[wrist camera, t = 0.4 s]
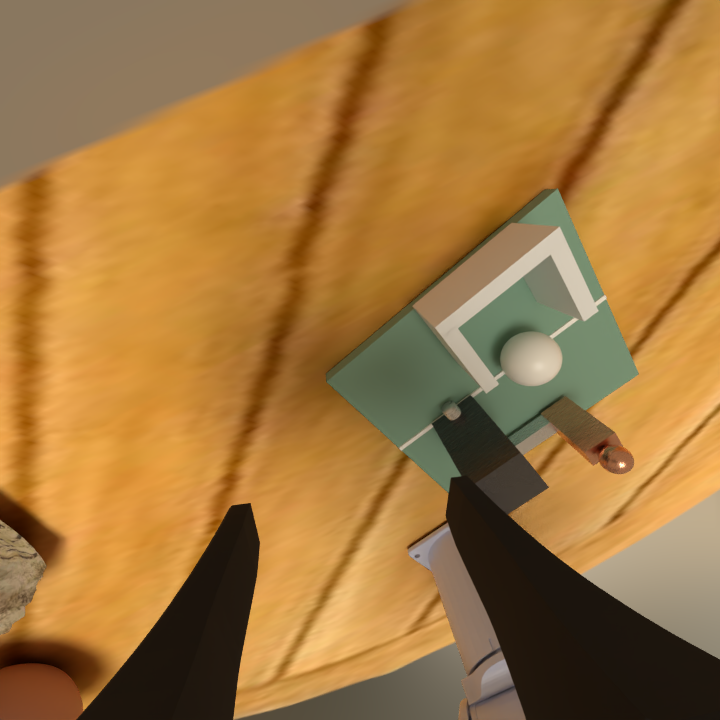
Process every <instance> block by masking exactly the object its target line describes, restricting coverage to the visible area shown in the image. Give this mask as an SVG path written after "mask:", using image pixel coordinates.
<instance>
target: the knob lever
mask: <svg viewBox="0 0 720 720" xmlns="http://www.w3.org/2000/svg"><path fill="white" fill-rule="evenodd" d="M441 411H442V413H443V414H444V415H443V416H441V417H440V418H439V419H437V420H436V421H435V422H433V423H432V425H433V427H434V429H435V430H436V432H437V434H438V436H439V438H440V439H441V441H442V443H443V445H444V446H445V448H446V450H447V452H448V453H449V455H450V457H451V459H452V461H453V462H454V464H455V466H456V468H457V469H458V471H459V473H460V475H461V476H468V477H469V478H470V479H471V480H472V481H473V482H474V483H475V484H476V485H477V486H478V487H479V488H480V489H481V490H482V491H483V492H484V493H485V494H486V495H487V496H488V497H489V498H490V499H491V500H492V501H493V502H494V503H496V504H497V505H498V506H499V507H500V508H501V509H502V510H503V511H504V512H505V513H506V514H509V513H510V512H512V511H513V510H515V509H516V508H518V507H519V506H521V505H523V504H524V503H526V502H527V501H529V500H530V499H532V498H533V497H535V496H537V495H538V494H540V493H541V492H543V491H544V490H546V489H547V488H549V487H548V486H547V484H546V483H545V482H544V481H543V479H542V478H541V477H540V476H539V475H538V473H537V472H536V471H535V470H534V468H533V467H532V466H531V465H530V463H529V462H528V461H527V460H526V459H525V457H524V456H523V455H524V454H525V453H527V452H528V451H530V450H531V449H533V448H534V447H536V446H537V445H539V444H540V443H542V442H543V441H545V440H546V439H548V438H549V437H551V436H552V435H554V434H555V433H556V432H557V433H558V434H559V435H560V436H561V437H562V438H563V439H564V440H566V441H567V442H568V443H569V444H570V445H571V446H572V447H573V448H574V449H575V450H577V451H578V452H579V453H580V454H581V455H582V456H583V457H584V458H585V459H586V460H588V461H589V462H590V463H591V464H592V465H593V466H594V465H595V464H597V463H598V462H600V464H601V466H602V467H603V468H604V469H606V470H607V471H609V472H611V473H615V474H624V473H627V472H629V471H630V470H631V469H632V468H633V466H634V459H633V456H632V454H631V453H630V452H629V451H628V450H627V449H625V448H624V447H623V446H622V444H621V442H620V440H619V438H618V437H617V435H616V433H615V432H614V431H612V430H611V429H610V428H608V427H607V426H606V425H604V424H603V423H601V422H600V421H599V420H597V419H596V418H595V417H593V416H592V415H591V414H589V413H588V412H587V411H585V410H584V409H582V408H581V407H580V406H578V405H577V404H576V403H574V402H573V401H572V400H570V399H569V398H568V397H566V396H565V397H563V398H562V399H561V400H559V401H558V402H556V403H555V404H553V405H552V406H551V407H549V408H548V409H546V410H545V411H543V412H542V413H541V415H540V416H539V417H537V418H536V419H534V420H533V421H532V422H530V423H529V424H527V425H526V426H524V427H523V428H522V429H520V430H519V431H517V432H516V433H514V434H513V435H511V436H510V437H509V438H508V437H507V436H506V435H505V434H504V433H503V432H502V430H501V429H500V428H499V427H498V426H497V425H496V423H495V422H494V421H493V420H492V419H491V418H490V416H489V415H488V414H487V413H486V412H485V411H484V409H483V408H482V407H481V406H480V405H479V404H478V403H477V401H476V400H475V399H474V398H473V397H472V396H471V395H470V396H468V397H467V398H466V399H464V400H463V401H462V402H460V403H459V404H457V405H456V404H455V402H453V401H448V402H446V403H445V404H444V405H443V406H442V409H441Z"/></svg>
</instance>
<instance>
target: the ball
mask: <svg viewBox="0 0 720 720" xmlns="http://www.w3.org/2000/svg"><path fill="white" fill-rule="evenodd" d="M500 363H501V367H502V370H503V371H504V373H505V374H506V376H507V377H508V378H509V379H511V380H512V381H514V382H515V383H517V384H520V385H524V386H539V385H542V384H545V383H547V382H549V381H550V380H552V379H553V378H554V377H555V376H556V375H557V374H558V372H559V370H560V368H561V365H562V352H561V349H560V347H559V346H558V344H557V343H556V342H555V341H554V340H553V339H552V338H551V337H549V336H548V335H545V334H543V333H540V332H534V331H529V332H523V333H519V334H517V335H515V336H513V337H512V338H510V339H509V340H508V341H507V342H506V343H505V345H504V346H503V348H502V351H501V355H500Z"/></svg>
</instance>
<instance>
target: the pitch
mask: <svg viewBox="0 0 720 720" xmlns="http://www.w3.org/2000/svg"><path fill="white" fill-rule="evenodd" d="M511 223H520V224H533V225H546V226H559V227H560V228H561V230H562V233H563V235H564V237H565V239H566V241H567V244H568V246H569V248H570V250H571V252H572V254H573V257H574V259H575V261H576V263H577V265H578V267H579V270H580V272H581V274H582V276H583V278H584V280H585V283H586V285H587V287H588V289H589V291H590V293H591V296H592V298H593V300H594V302H595V304H596V306H597V309H598V312H597V313H595V314H594V315H592V316H591V317H590V318H588V319H587V320H586V321H581V320H579V319H576V318H574V317H572V316H569V315H567V314H564V313H562V312H560V311H557V310H555V309H552V308H550V307H548V306H545V305H543V304H540V303H538V302H537V301H536V299H535V297H534V295H533V294H532V292H531V290H530V288H529V287H528V285H527V283H526V281H525V279H524V278H523V277H522V278H521V279H519V280H518V281H517V282H516V283H514V284H513V285H512V286H511V287H509V288H508V289H507V290H506V291H504V292H503V293H502V294H501V295H499V296H498V297H497V298H495V299H494V300H493V301H492V302H490V303H489V304H488V305H487V306H485V307H484V308H483V309H482V310H480V311H479V312H478V313H477V314H475V315H474V316H473V317H472V318H470V319H469V320H468V321H467V322H465V323H464V324H463V325H462V326H460V327H459V328H458V329H459V331H460V332H461V333H462V335H463V336H464V337H465V339H466V340H467V341H468V343H469V344H470V346H471V347H472V348H473V350H474V351H475V352H476V354H477V355H478V356H479V358H480V359H481V360H482V362H483V363H484V364H485V366H486V367H487V368H488V370H489V371H490V373H491V374H492V375H493V377H494V378H495V379H496V381H497V382H498V383H499V385H497V386H496V387H495V388H493V389H492V390H491V391H489V392H488V393H487V394H486V393H485V392H484V391H483V389H482V388H481V387H480V386H479V385H478V384H477V383H476V382H475V381H474V380H473V379H472V378H471V377H470V376H469V375H468V374H467V373H466V372H465V371H464V370H463V368H462V367H461V366H460V365H459V364H458V363H457V362H456V361H455V359H454V358H453V357H452V356H451V354H450V353H449V352H448V351H447V349H446V348H445V347H444V345H443V344H442V343H441V342H440V340H439V339H438V338H437V337H436V335H435V334H434V333H433V332H432V330H431V329H430V328H429V327H428V325H427V324H426V323H425V322H424V320H423V319H422V318H421V316H420V315H419V314H418V313H417V311H416V310H415V309H414V308H413V305H414V304H415V303H416V302H418V301H419V300H420V299H421V298H422V297H424V296H425V295H426V294H427V293H428V292H429V291H431V290H432V289H433V288H434V287H435V286H437V285H438V284H439V283H440V282H441V281H443V280H444V279H445V278H446V277H447V276H449V275H450V274H451V273H452V272H453V271H455V270H456V269H457V268H458V267H459V266H460V265H462V264H463V263H464V262H465V261H466V260H468V259H469V258H470V257H471V256H472V255H474V254H475V253H476V252H477V251H478V250H480V249H481V248H482V247H483V246H484V245H486V244H487V243H488V242H489V241H490V240H491V239H493V238H494V237H495V236H496V235H497V234H499V233H500V232H501V231H502V230H503V229H505V228H506V227H507V226H508V225H509V224H511ZM606 299H607V298H606V295H604V293H603V291H602V289H601V287H600V284H599V282H598V280H597V277H596V275H595V273H594V271H593V268H592V266H591V264H590V261H589V259H588V257H587V255H586V252H585V250H584V248H583V245H582V243H581V241H580V239H579V236H578V234H577V232H576V229H575V227H574V225H573V223H572V220H571V218H570V216H569V213H568V211H567V209H566V207H565V204H564V202H563V200H562V197H561V195H560V193H559V191H558V189H547V190H544V191H543V192H541V193H540V194H539V195H538V196H537V197H535V198H534V199H533V200H532V201H531V202H529V203H528V204H527V205H526V206H525V207H524V208H522V209H521V210H520V211H519V212H518V213H516V214H515V215H514V216H513V217H512V218H510V219H509V220H508V221H507V222H506V223H505V224H503V225H502V226H501V227H500V228H499V229H497V230H496V231H495V232H494V233H493V234H491V235H490V236H489V237H488V238H487V239H486V240H484V241H483V242H482V243H481V244H480V245H478V246H477V247H476V248H475V249H474V250H472V251H471V252H470V253H469V254H468V255H467V256H465V257H464V258H463V259H462V260H461V261H459V262H458V263H457V264H456V265H455V266H453V267H452V268H451V269H450V270H449V271H448V272H446V273H445V274H444V275H443V276H442V277H440V278H439V279H438V280H437V281H436V282H434V283H433V284H432V285H431V286H430V287H429V288H427V289H426V290H425V291H424V292H423V293H421V294H420V295H419V296H418V297H417V298H415V299H414V300H413V301H412V302H411V303H410V304H408V305H407V306H406V307H405V308H404V309H402V310H401V311H400V312H399V313H398V314H396V315H395V316H394V317H393V318H392V319H391V320H389V321H388V322H387V323H386V324H385V325H383V326H382V327H381V328H380V329H379V330H377V331H376V332H375V333H374V334H373V335H372V336H370V337H369V338H368V339H367V340H366V341H364V342H363V343H362V344H361V345H360V346H358V347H357V348H356V349H355V350H354V351H353V352H351V353H350V354H349V355H348V356H347V357H345V358H344V359H343V360H342V361H341V362H339V363H338V364H337V365H336V366H335V367H334V368H332V369H331V370H330V371H329V372H328V373H326V382H327V383H328V384H329V385H330V386H332V387H333V388H334V389H335V390H336V391H337V392H338V393H339V394H340V395H341V396H342V397H344V398H345V399H346V400H347V401H348V402H349V403H350V404H351V405H352V406H353V407H355V408H356V409H357V410H358V411H359V412H360V413H361V414H362V415H363V416H364V417H366V418H367V419H368V420H369V421H370V422H371V423H372V424H373V425H374V426H375V427H377V428H378V429H379V430H380V431H381V432H382V433H383V434H384V435H385V436H386V437H388V438H389V439H390V440H391V441H392V442H393V443H394V444H395V445H396V446H397V447H398V448H399V449H400V450H401V451H403V452H404V453H405V454H406V455H407V456H408V457H409V458H411V459H412V460H413V461H414V462H415V463H416V464H417V465H418V466H419V467H420V468H422V469H423V470H424V471H425V472H426V473H427V474H428V475H429V476H430V477H431V478H433V479H434V480H435V481H436V482H437V483H438V484H439V485H440V486H441V487H442V488H443V489H445V490H446V491H447V492H448V493H449V488H450V480H451V477H459V476H461V475H460V473H459V471H458V469H457V468H456V466H455V464H454V462H453V461H452V459H451V457H450V455H449V453H448V452H447V450H446V448H445V446H444V445H443V443H442V441H441V439H440V438H439V436H438V434H437V432H436V430H435V429H434V427H433V425H432V423H433V422H435V421H436V420H437V419H439V418H440V417H441V416H443V415H444V414H443V413H442V411H441V409H442V406H443V405H444V404H445V403H446V402H448V401H453V402H455V404H456V405H457V404H459V403H460V402H462V401H463V400H464V399H466V398H467V397H468V396H470V395H471V396H472V397H473V398H474V399H475V400H476V401H477V403H478V404H479V405H480V406H481V407H482V408H483V409H484V411H485V412H486V413H487V414H488V415H489V416H490V418H491V419H492V420H493V421H494V422H495V423H496V425H497V426H498V427H499V428H500V429H501V430H502V432H503V433H504V434H505V435H506V436H507V437H508V438H509V437H510V436H511V435H513V434H514V433H516V432H517V431H519V430H520V429H522V428H523V427H524V426H526V425H527V424H529V423H530V422H532V421H533V420H534V419H536V418H537V417H539V416H540V415H541V413H542V412H543V411H545V410H546V409H548V408H549V407H551V406H552V405H553V404H555V403H556V402H558V401H559V400H561V399H562V398H563V397H565V396H566V397H568V398H569V399H570V400H572V401H573V402H574V403H576V404H577V405H578V406H580V407H581V408H582V409H584V410H587V409H588V408H590V407H591V406H593V405H594V404H596V403H597V402H599V401H600V400H602V399H603V398H604V397H606V396H607V395H609V394H610V393H612V392H613V391H615V390H616V389H618V388H619V387H621V386H622V385H624V384H625V383H627V382H628V381H630V380H631V379H632V378H634V377H635V376H637V375H638V374H639V373H638V371H637V369H636V366H635V364H634V362H633V360H632V357H631V355H630V353H629V350H628V348H627V346H626V344H625V341H624V339H623V337H622V334H621V332H620V330H619V328H618V325H617V323H616V321H615V318H614V316H613V314H612V312H611V309H610V307H609V305H608V303H607V300H606ZM529 331H534V332H540V333H543V334H545V335H548V336H549V337H551V338H552V339H553V340H554V341H555V342H556V343H557V344H558V346H559V347H560V349H561V352H562V365H561V368H560V370H559V372H558V374H557V375H556V376H555V377H554V378H553V379H552V380H550V381H549V382H547V383H545V384H542V385H539V386H524V385H520V384H517V383H515V382H514V381H512V380H511V379H509V378H508V377H507V376H506V374H505V373H504V371H503V370H502V367H501V363H500V355H501V351H502V348H503V346H504V345H505V343H506V342H507V341H508V340H509V339H510V338H512V337H513V336H515V335H517V334H519V333H523V332H529Z"/></svg>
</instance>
